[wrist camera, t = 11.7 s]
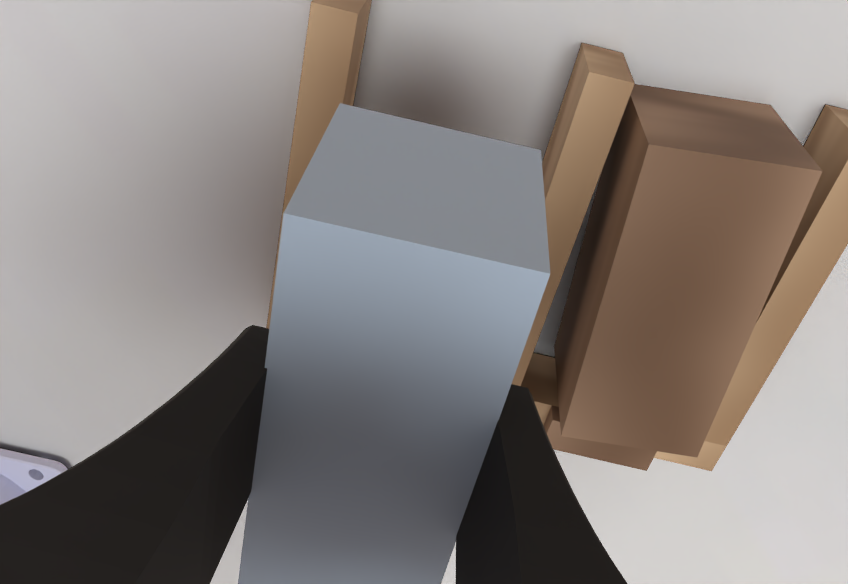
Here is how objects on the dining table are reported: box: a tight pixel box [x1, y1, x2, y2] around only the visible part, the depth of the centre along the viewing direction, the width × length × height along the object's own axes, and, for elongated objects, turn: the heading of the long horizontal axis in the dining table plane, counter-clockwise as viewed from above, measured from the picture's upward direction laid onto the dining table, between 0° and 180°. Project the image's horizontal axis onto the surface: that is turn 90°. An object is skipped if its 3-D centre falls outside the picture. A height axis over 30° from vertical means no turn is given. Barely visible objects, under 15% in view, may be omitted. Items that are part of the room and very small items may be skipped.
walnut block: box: [554, 84, 823, 457], centre depth 20 cm, size 4×8×4 cm, turn 173°
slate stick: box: [238, 103, 550, 584], centre depth 14 cm, size 4×8×4 cm, turn 168°
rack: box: [266, 0, 848, 471], centre depth 20 cm, size 13×10×3 cm
